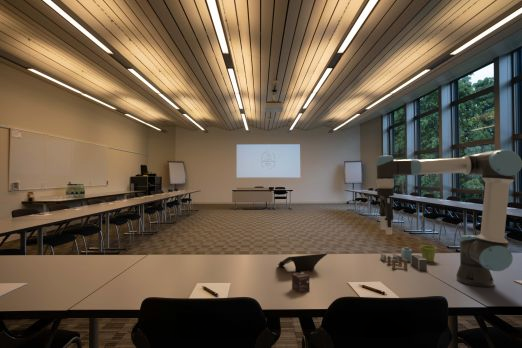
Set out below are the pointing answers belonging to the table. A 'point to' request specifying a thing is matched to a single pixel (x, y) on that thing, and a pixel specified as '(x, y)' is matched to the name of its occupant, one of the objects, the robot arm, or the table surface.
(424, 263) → the cable bar
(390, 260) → the clip
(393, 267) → the clip
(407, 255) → the connector
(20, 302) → the table surface
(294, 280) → the box
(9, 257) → the table surface
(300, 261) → the portable electronic device stand
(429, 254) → the plant pot
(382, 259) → the end holder
